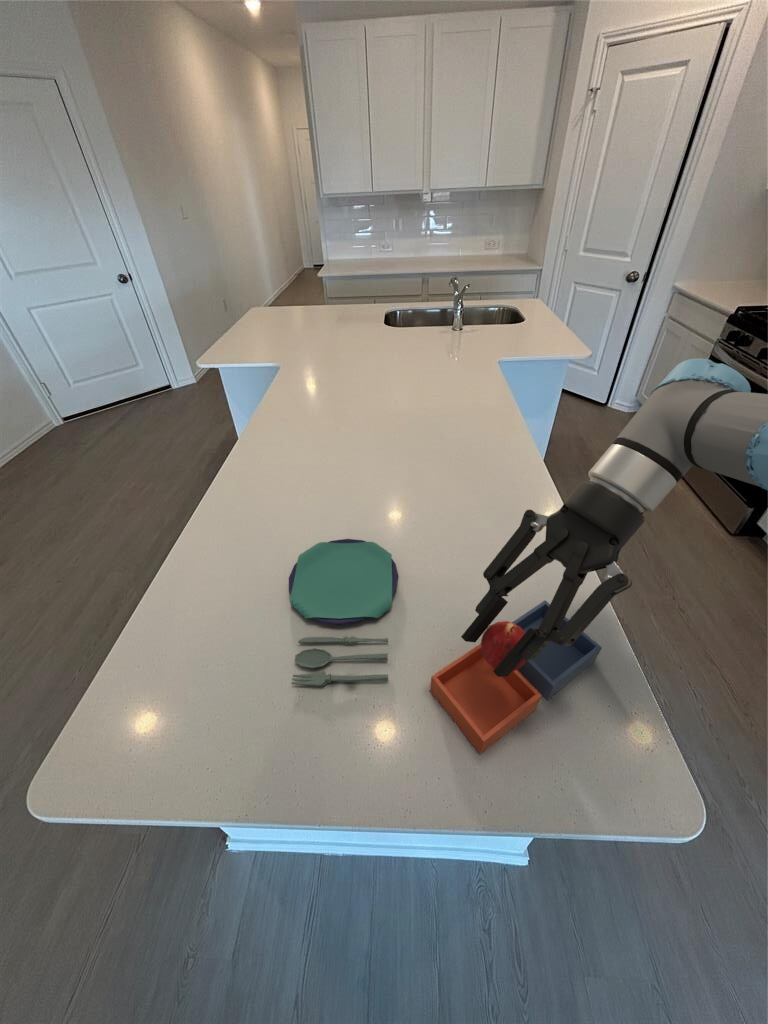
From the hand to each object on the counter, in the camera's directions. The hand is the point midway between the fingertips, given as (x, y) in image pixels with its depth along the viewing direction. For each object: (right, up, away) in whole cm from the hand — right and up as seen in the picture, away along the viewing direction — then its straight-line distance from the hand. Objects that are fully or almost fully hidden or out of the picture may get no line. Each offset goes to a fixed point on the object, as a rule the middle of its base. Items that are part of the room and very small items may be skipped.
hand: (484, 655), depth 52 cm
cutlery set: (-19, 0, +25) cm, 32 cm away
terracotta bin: (+2, -10, +12) cm, 16 cm away
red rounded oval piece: (+3, -2, +5) cm, 6 cm away
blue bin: (+13, -5, +17) cm, 22 cm away
